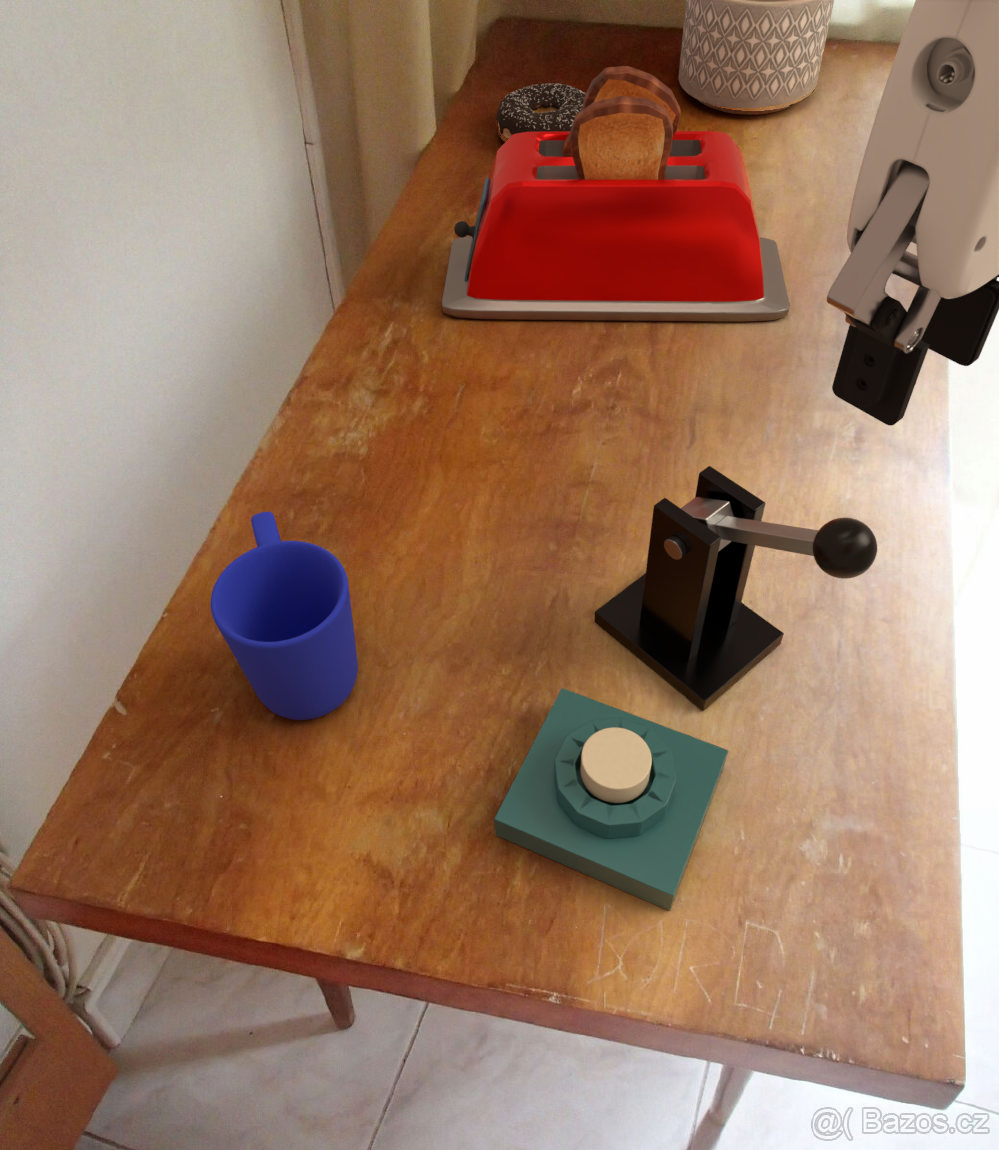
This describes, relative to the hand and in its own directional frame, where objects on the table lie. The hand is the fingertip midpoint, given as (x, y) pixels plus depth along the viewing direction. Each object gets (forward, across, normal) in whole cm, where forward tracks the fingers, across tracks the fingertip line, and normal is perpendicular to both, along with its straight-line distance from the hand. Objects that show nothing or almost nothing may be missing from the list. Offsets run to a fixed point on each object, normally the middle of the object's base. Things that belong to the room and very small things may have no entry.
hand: (905, 374), depth 43 cm
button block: (+27, -13, +3) cm, 30 cm away
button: (+24, -13, +3) cm, 27 cm away
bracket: (+27, 0, +9) cm, 29 cm away
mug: (+28, -21, +25) cm, 43 cm away
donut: (+28, +42, +68) cm, 85 cm away
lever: (+15, 0, +3) cm, 16 cm away
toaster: (+28, +26, +42) cm, 56 cm away
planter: (+28, +67, +59) cm, 93 cm away
